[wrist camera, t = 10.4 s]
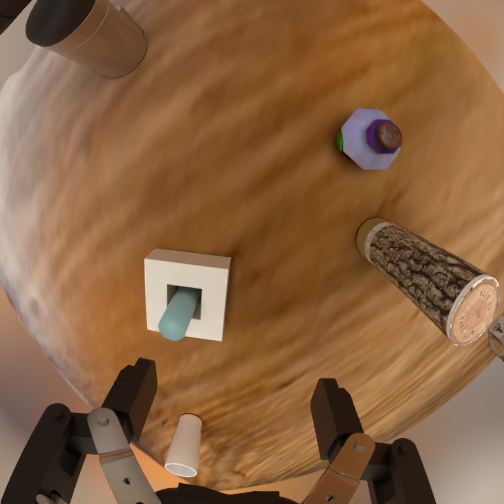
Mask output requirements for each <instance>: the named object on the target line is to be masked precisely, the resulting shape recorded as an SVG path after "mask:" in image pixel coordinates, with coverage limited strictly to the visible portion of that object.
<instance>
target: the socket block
mask: <svg viewBox="0 0 504 504" xmlns="http://www.w3.org/2000/svg"><path fill="white" fill-rule="evenodd" d="M230 264H231V257H223V256H215V255H207V254H198V253H190V252H182V251H174V250H166V249H158V248H156V249H154V250H153V251H152V252H151V253H150V254H149V255H148V256H147V257H146V258H145V294H146V313H147V327H148V330H154V331H159V328H158V323H159V321H160V319H161V318H162V316H163V314H164V312H165V310H166V309H167V307H168V305H169V303H170V302H171V300H172V298H173V296H174V295H175V285H178V286H185V287H192V288H200V289H202V301H201V304H200V303H197V305H196V308H195V310H194V313H193V315H192V318H191V321H190V323H189V326H188V329H187V331H186V334H185V336H189V337H195V338H202V339H209V340H217V341H222V337H223V331H224V325H225V315H226V304H227V294H228V283H229V273H230ZM159 332H160V331H159Z"/></svg>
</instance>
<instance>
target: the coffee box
mask: <svg viewBox="0 0 504 504" xmlns="http://www.w3.org/2000/svg"><path fill="white" fill-rule="evenodd" d="M488 333H489V344H490V349H491V350H492V351H493V352H494V353H495V354H496V355H497V356H498V357H499V358H500V359H501V360H502V361H503V362H504V316H503V315H501V316H500V317H499V319H498V320H497V321H496V322H495V323H494V324H493V325H492V326H491V327H490V328H489V329H488Z"/></svg>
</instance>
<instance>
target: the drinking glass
mask: <svg viewBox="0 0 504 504" xmlns="http://www.w3.org/2000/svg"><path fill="white" fill-rule="evenodd" d="M201 428H202V421H201V419H200V418H199V417H197V416H195V415H192V414H184V415H182V416H181V417H180V419H179V423H178V426H177V429H176V431H175V434H174V437H173V439H172V442H171V445H170V447H169V450H168V453H167V457H166V462H165V468H166V469H167V470H168V471H169V472H171V473H173V474H175V475H179V476H184V477H192V476H195V475H196V474H197V471H198V466H199V459H200V441H201Z"/></svg>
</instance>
